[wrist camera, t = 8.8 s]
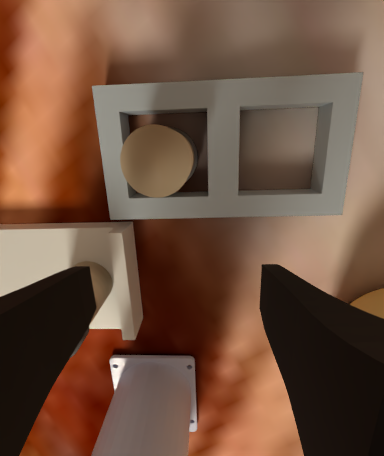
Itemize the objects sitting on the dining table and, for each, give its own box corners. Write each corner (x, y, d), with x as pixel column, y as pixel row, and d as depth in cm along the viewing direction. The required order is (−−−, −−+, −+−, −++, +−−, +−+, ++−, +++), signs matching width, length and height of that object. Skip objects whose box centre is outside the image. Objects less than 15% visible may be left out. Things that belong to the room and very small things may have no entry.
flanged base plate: (143, 317, 23) (135, 340, 20) (-6, 317, 24) (-32, 338, 21) (132, 221, 20) (121, 233, 18) (-35, 224, 21) (-70, 236, 18)
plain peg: (118, 303, 21) (85, 362, 15) (70, 303, 21) (21, 361, 16) (111, 258, 20) (74, 304, 14) (61, 259, 20) (4, 304, 14)
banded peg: (203, 135, 18) (202, 130, 12) (191, 190, 19) (185, 208, 14) (147, 122, 18) (121, 111, 12) (139, 178, 19) (111, 192, 14)
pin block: (328, 208, 19) (342, 214, 17) (119, 212, 20) (110, 219, 18) (345, 80, 17) (363, 72, 15) (104, 92, 18) (92, 86, 16)
